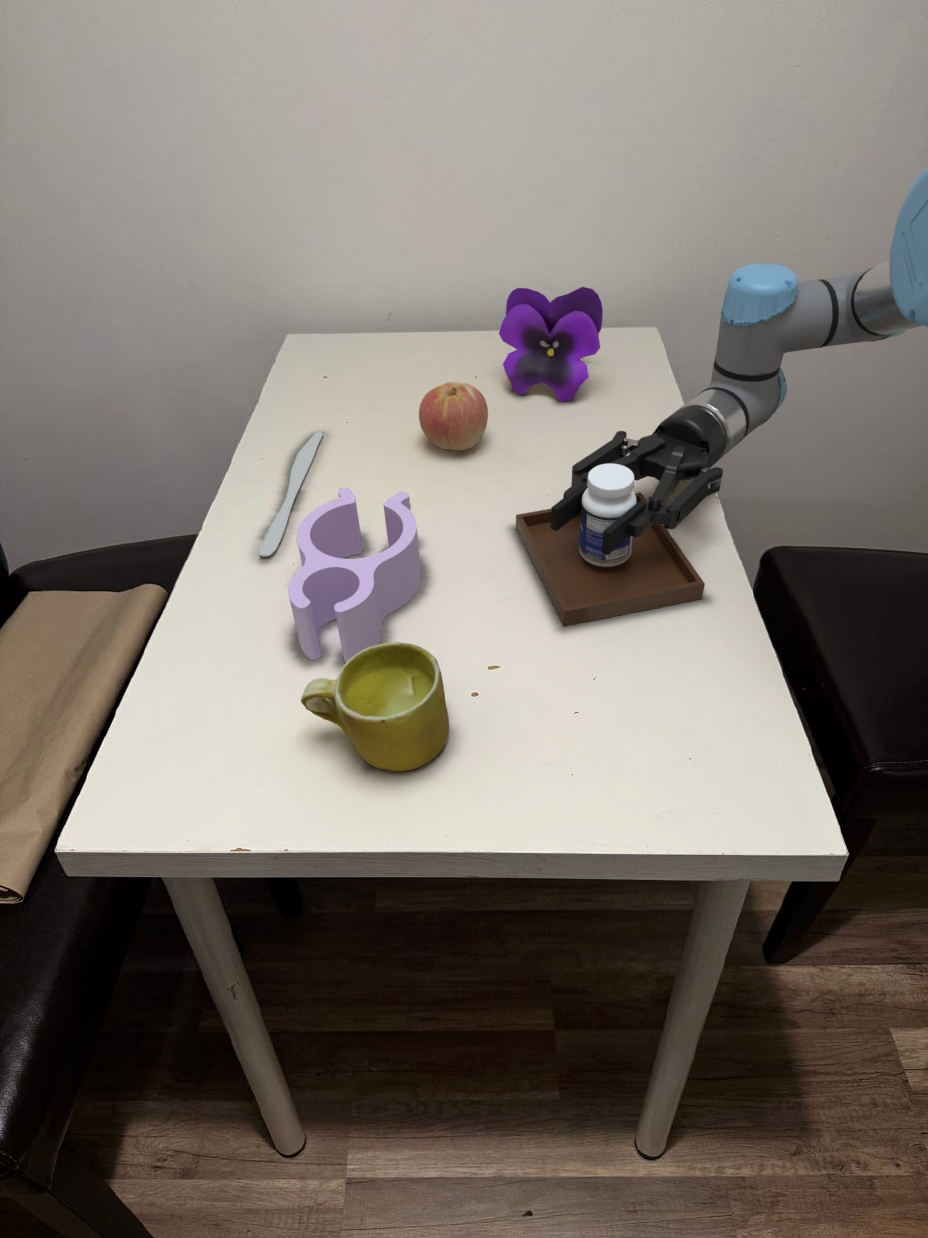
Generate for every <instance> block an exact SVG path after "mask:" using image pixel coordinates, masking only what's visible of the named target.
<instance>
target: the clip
mask: <svg viewBox="0 0 928 1238" xmlns="http://www.w3.org/2000/svg"><path fill="white" fill-rule="evenodd" d="M337 495H338V498H336V499H333V500H331V501H328V502H326V503H324V504H321V505H319V506H318V507H316V508H315V509H313V510H311V511H310V512H309V513H308V514H307V515H306V516H305V517H304V518H303V519H302V520H301V522H300V523H299V525H298V528H297V530H296V543H297V549H298V553H299V557H300V562H301V566H302V567H301V569H300V570H298V571H297V572H296V573H295V574H294V575H293V577H292V578H291V579H290V581H289V583H288V586H287V596H288V599H289V603H290V608H291V612H292V616H293V621H294V626H295V630H296V634H297V638H298V642H299V646H300V650H301V652H302V653H303V655H304V656H305V657H306V658H307V659H308V660H310V661H316V660H318V659H319V658H320V657H321V656H322V650H321V646H320V641H319V638H318V637H319V636H318V630H319V629H320V628H321V627H323V626H324V625H325V624H327V623H328V624H329V623H330V622H333V621H336V624H337V630H338V634H339V635H338V636H339V639H340V646H341V650H342V657H343V661H344V664H345V663H346V662H347V661H348V660H349V659H350V658H351V657H353V656H354V655H355V654H357V653H359V652H360V651H362V650H363V649H366V648H368V647H371V646H375V645H379V644H381V643H380V642H381V640H382V623H383V622H384V620H385V618H386V617H388V616H389V615H390V614H392V613H393V612H395V611H397V610H399V609H401V608H402V607H404V606H405V605H407V604H408V603H409V602H410V601H411V600H413V598H414V597H415V596H416V594H417V593H418V591H419V590H420V587H421V584H422V569H421V568H422V567H421V557H420V548H419V547H420V546H419V538H418V537H419V536H418V525H417V520H416V517H415V516H414V513H413V512H412V508H411V501H410V499H411V498H410V494H409V493H408V492H407V491H400V492H398V493H395V494H393V495H391V496H390V497H388V498H387V499H386V500H385V501H383V505H382V506H383V513H384V520H385V529H386V536H387V544H388V548H387V549H385V550H383V551H380V552H378V553H376V554H373V555H369V556H365V557H364V556H363V557H359V558H349V557H351V556H356V555H361V554H362V553H363V552H364V545H363V539H362V533H361V526H360V518H359V512H358V506H357V499H356V495H355V493H354V492H353V491H352V489H351V488H350V487H346V486H345V487H342V488H339V489H338V490H337Z"/></svg>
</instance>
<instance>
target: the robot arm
mask: <svg viewBox="0 0 928 1238" xmlns="http://www.w3.org/2000/svg"><path fill="white" fill-rule="evenodd" d="M893 231H894V232H893V236H892V238H891V243H890V251H889V260H887V261H885V262H882V263H880V264H877V265H875V266H873V267H871V268H868V269H864V270H862V271H859V272H856V273H854V274H847V275H842V276H837V277H830V278H824V279H822V278H820V279H810V280H803V281H799V277H798V275H797V273H795V272H794V271H793V270H792V269H791V268H788V267H786V266H783V265H780V264H775V263H769V264H764V263H760V262H759V263H750V264H747V265H743V266H741V267H739V268H737V269H736V270H735V271H734V272H733V273H732V274H731V276H730V277H729V279H728V282H727V285H726V289H725V292H724V297H723V301H722V305H721V308H720V319H719V328H718V335H717V336H718V337H717V343H716V351H715V356H714V362H713V366H712V371H711V377H710V383H709V385H708V386H707V387H706V388H705V389H704V390H701V392H699V393H698V394H697V395H696V396H694V397H693V398H691V399H690V400H688V401H687V402H686V403H684V404H683V405H682V406H681V407H679V408H678V409H677V410H675V411H674V412H673V413H671V414H670V415H669V416H668V417H667V418H665V419H664V420H662V421H661V422H660V423H659V424H658V426H656V427H655V430H654V431H653V432H652V433H651V434H649V435H646V436H642V437H641V438H640V439H634V438H628V437H627V436H628V432H627V431H624V430H617V431H616V432H615V434H614V436H613V437H612V439H611V440H609V441H607V442H606V443H605V444H604V445H602V446H601V447H599V448H597V449H596V450H594V451H593V452H591V453H590V454H588V455H586V456H585V457H583V458H582V459H581V460H579V461H578V462H576V463H574V464H573V465H572V467H571V485H570V487H568V488H567V489H566V490H564V492H563V495H562V498H561V499H560V500H559V501H558V502H556V503H555V504H554V505H553V506H551V508H550V509H551V529H553V530H555V531H558V530H559V529H560V528H561V527H563V526H564V525H565V524H566V523H568V522H569V521H570V520H571V519H573V518H574V517H575V516H577V515H578V514H579V513H580V512H581V502H582V496H583V493H584V492H585V490H586V489H587V488H588V486H587V481H588V474H589V472H590V471H591V469H593V468H594V467H596V466H598V465H602V464H619V465H623V466H625V467H627V468H629V469H630V470H631V471H632V472H633V474H634V481H640V480H642V479H643V480H644V479H645V478H647V477H649V478H650V477H651V478H654V479H656V480H657V481H658V483H657V485H656V487H655V489H654V491H653V493H652V495H651V496H648V501H647V502H648V507H646V503H644V502H642V501H639V502H638V503H637V504H635V505H634V506H633V507H632V508H631V509H629V510H628V511H627V512H626V513H624V514H623V515H622V516H621V517H620V518H618V519H617V520H616V521H615V522H614V523H612V524H611V525H610V526H609V527H608V528H606V529H605V530H604V531H603V542H602V553H604V554H606V555H609V554H610V553H611V552H612V551H613V550H615V549H616V548H617V547H618V546H619V545H620V544H622V543H623V542H624V541H625V540H626V539H627V538H629V537H630V536H632V537H635V538H636V537H639V536H640V535H642V534H643V533H644V532H645V531H646V530H647V529H648V528H650V527H651V526H655V525H657V524H663V525H664V527H665V528H666V529H667V530H674V529H676V528H677V527H678V526H679V525H680V524H681V523H682V522H683V521H684V520H685V519H686V518H687V517H688V516H689V515H690V514H691V513H692V512H693V511H694V510H695V509H696V508H697V507H698V506H699V505H700V503H702V502H703V501H704V500H705V499H706V498H707V497H709V496H711V495H713V494H717V493H718V492H720V490H721V486H722V479H723V473H724V470H723V468H721V467H718V466H715V464H717V463H718V462H719V461H720V460H721V459H722V458H723V457H724V456H726V455H727V454H728V453H729V452H730V451H731V450H733V449H734V448H735V447H736V446H737V445H738V444H739V443H741V442H742V441H743V440H744V438H746V437H747V436H749V434H751V433H752V432H753V431H755V430H756V429H757V428H758V427H760V426H762V425H764V424H765V423H766V422H768V421H769V419H771V417H772V416H773V415H774V414H775V413H776V412H777V410H778V409H779V408H780V407H781V406H782V404H783V403H784V401H785V399H786V396H787V393H788V384H787V381H786V377H785V373H784V371H783V369H782V368H781V366H782V362H783V359H784V355H785V354H787V353H792V352H793V353H794V352H800V351H806V350H813V349H814V350H815V349H822V348H826V347H833V346H843V345H850V344H858V343H865V342H868V343H870V342H871V343H872V342H878V341H885V340H887V339H889V338H894V337H895V338H896V337H898V336H901V335H902V334H904V333H906V332H907V331H908V330H912V329H916V328H919V327H926V328H928V165H926V167H925V168H924V169H923V171H921V173H920V174H919V175H918V177H917V178H916V179H915V180H914V182H913V184H912V185H911V187H910V189H909V190H908V193H907V194H906V196H905V198H904V200H903V203H902V205H901V207H900V209H899V212H898V216H897V219H896V222H895V226H894V230H893ZM713 466H715V467H713ZM691 480H692V481H691ZM683 481H690V482H689V483H688V485H686V486H685V488H683V489H682V490H681V491H680V492H679V493H678V494H677V495H676V496H675V497H674V498H673V499H672V500H670V499H671V497H672V495H673V494H674V493H675V492H676V490H677V488H678V485H679V484H680V483H681V482H683ZM669 501H670V502H669Z"/></svg>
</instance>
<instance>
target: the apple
mask: <svg viewBox="0 0 928 1238" xmlns="http://www.w3.org/2000/svg"><path fill="white" fill-rule="evenodd" d="M421 399H422V400H420V401H421V402H420V405H419V408H418V421H419V425H420V428H421V430H422V433H423V435H424V436H425V437H426V438H427V439H428V440H429V442H431V443H432V444H433V445H435V446H436V447H439V448H441V449H444V450H449V451H467V450H470V449H471V448H473V447H474V446H476V445H477V443H478V442H479V441H480V440H481V438H482V437H483V436H484V434H485V432H486V429H487V425H488V419H489V407H488V404H487V400H486V398H485V396H484V395H483V393H482V392H481V391H480V390H479V389H478V388H476V387H475V386H474V385H471V384H469V383H466V382H458V381H450V382H446V383H443V384H440V385H437V386H436V387H434V388H432V389H430V390H429V391H428V392H427V393H426V394H425V395H424V396H423V398H421Z"/></svg>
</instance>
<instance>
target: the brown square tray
mask: <svg viewBox="0 0 928 1238" xmlns="http://www.w3.org/2000/svg"><path fill="white" fill-rule="evenodd" d="M634 493H635V492H634ZM635 495H636V500H637V503H638V502H639V501H642V502H644V503H646V507H648V502H649V501H648V499H646V497H645V496H644V494H643V493H642V492H636V493H635ZM580 521H581V512H580V513H579V514H578V515H577V516H575V517H574V518H573V519H571V520H570V521H569V522H568V523H566V524H565V525H564V526H563V527H561V528H560V529H559V530H558V531H555V530H553V529H551V508H546V509H541V510H535V511H530V512H524V513H519V514H515V531H516V532H517V535H518V537H519V539H520V542H521V543H522V545H523V547H524V549H525V551H526V554H527V555H528V557H529V559H530V561H531V564H532V565H533V568H534V569H535V572H536V573H537V576H538V577H539V580H540V582H541V584H542V586H543V588H544V590H545V592H546V594H547V597H548V598H549V601H550V603H551V604H552V607H553V608H554V611H555V613H556V615H557V617H558V620H559V621H560V623H561V625H562V627H568V626H572V625H573V626H574V625H578V624H583V623H588V622H593V621H598V620H599V621H600V620H603V619H609V618H613V617H618V616H623V615H628V614H634V613H637V612H644V611H649V610H653V609H658V608H664V607H668V606H674V605H678V604H683V603H689V602H693V601H698V600H702V599H703V595H704V590H705V585H706V583H705V582H704V580H703V578H702V577H701V576H700V575H699V573H698V572H697V571H696V569H695V568H694V566H693V565H692V563H691V562H690V560H689V559H688V557H687V556H686V554H685V553H684V552H683V550H682V549H681V547H680V546H679V545H678V543H677V542H676V540H675V539H674V537H673V536H672V534H671V533H670V532H669V529H666V528H665V527H664V524H657V525H655V526H651V527H650V528H648V529H647V530H646V531H645V532H644V533H643V534H642V535H640V536H639V537H636V538H635V537H633V546H632V552H631V555H630V557H629V558H628V559H627V560H626V561H625V562H624V563H622V564H620V565H617V566H612V567H601V566H596V565H593V564H591V563H589V562H587V561H586V560H585V559H584V558H583V557H582V556H581V554H580V551H579V540H580Z"/></svg>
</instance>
